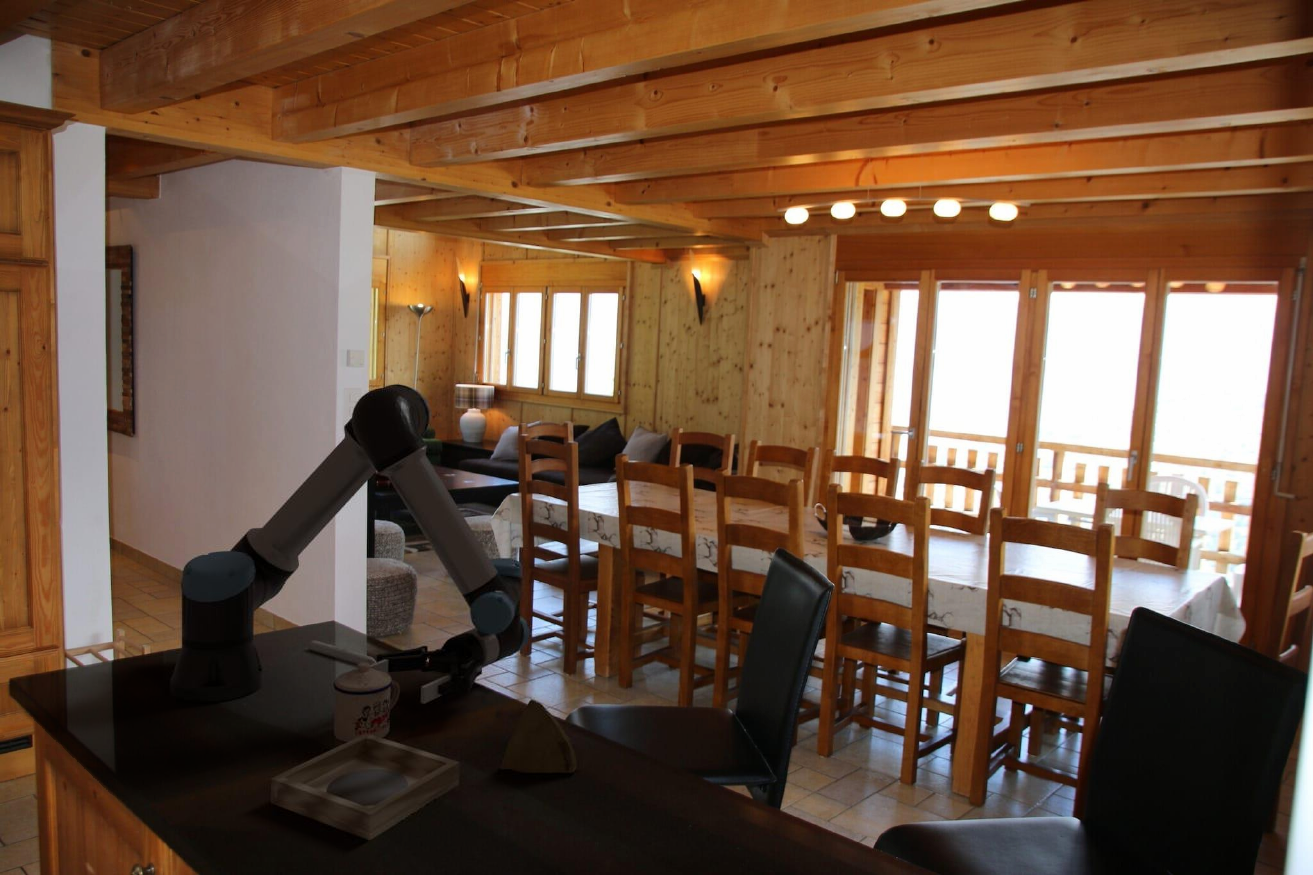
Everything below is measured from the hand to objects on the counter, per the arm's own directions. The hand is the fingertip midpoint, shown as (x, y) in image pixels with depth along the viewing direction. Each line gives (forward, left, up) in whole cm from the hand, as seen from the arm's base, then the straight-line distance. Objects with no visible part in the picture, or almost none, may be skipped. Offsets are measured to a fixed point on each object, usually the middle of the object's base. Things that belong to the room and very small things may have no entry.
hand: (390, 686), depth 156 cm
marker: (-29, +19, -7) cm, 35 cm away
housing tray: (+14, -20, -6) cm, 25 cm away
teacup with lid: (-1, -4, -7) cm, 8 cm away
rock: (+30, 0, -7) cm, 31 cm away
